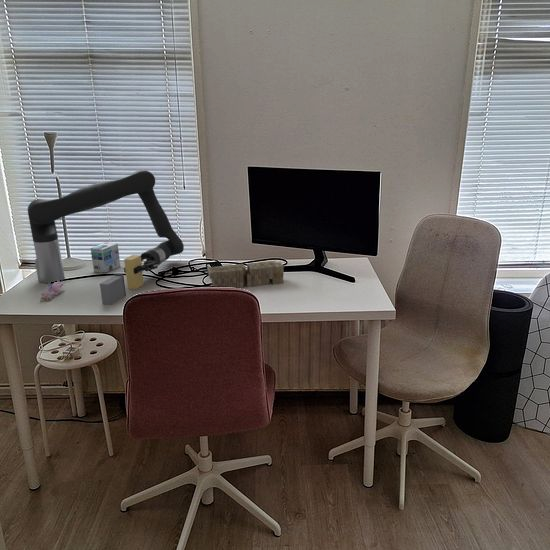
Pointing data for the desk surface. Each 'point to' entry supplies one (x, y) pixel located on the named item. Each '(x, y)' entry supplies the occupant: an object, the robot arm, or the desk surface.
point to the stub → (133, 279)
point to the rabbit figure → (52, 290)
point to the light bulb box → (105, 257)
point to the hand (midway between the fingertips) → (129, 271)
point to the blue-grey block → (113, 289)
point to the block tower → (247, 274)
